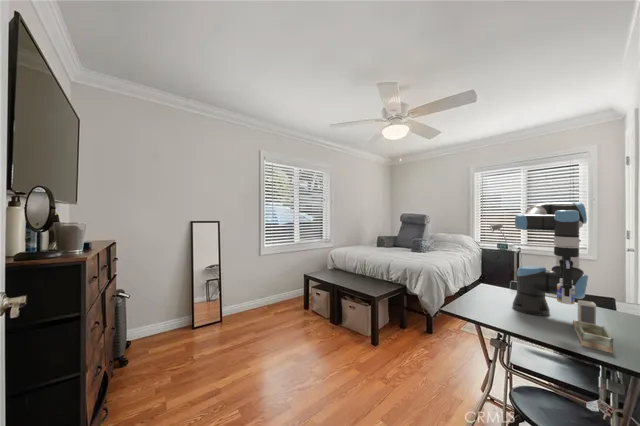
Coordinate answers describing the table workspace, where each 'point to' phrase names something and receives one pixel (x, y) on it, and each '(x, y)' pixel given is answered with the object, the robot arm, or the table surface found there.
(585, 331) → the tray
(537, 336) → the table surface
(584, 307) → the white upright block
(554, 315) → the table surface
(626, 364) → the table surface
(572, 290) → the pill bottle
